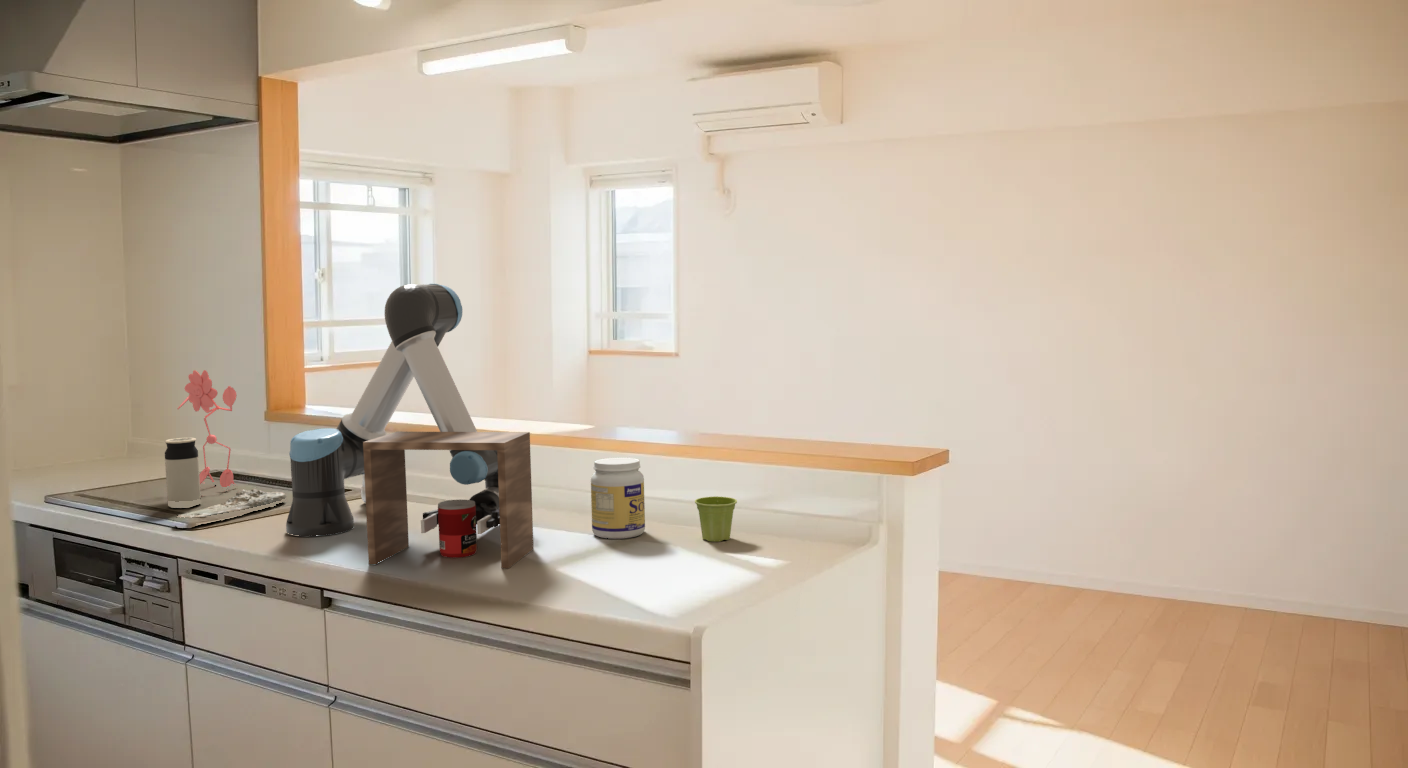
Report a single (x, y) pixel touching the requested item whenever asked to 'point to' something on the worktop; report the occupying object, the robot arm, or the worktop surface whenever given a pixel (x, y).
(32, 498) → the worktop surface
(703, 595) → the worktop surface
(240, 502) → the elongated rock
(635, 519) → the supplement tub
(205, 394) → the pink flower figurine
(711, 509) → the plant pot
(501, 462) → the shelf riser
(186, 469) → the travel mug
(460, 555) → the canned food
